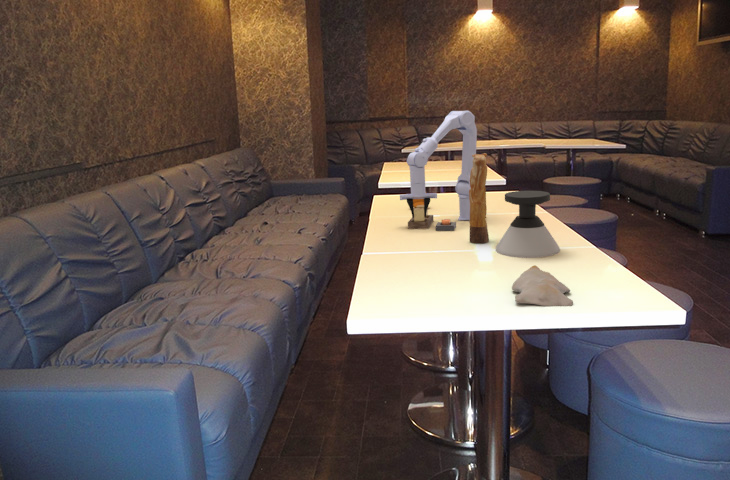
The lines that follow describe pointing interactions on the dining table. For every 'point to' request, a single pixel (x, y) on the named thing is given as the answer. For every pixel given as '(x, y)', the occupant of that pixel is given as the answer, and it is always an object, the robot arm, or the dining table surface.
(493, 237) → the dining table surface
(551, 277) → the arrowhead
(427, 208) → the block
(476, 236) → the sculpture
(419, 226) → the brown compartment tray
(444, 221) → the button
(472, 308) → the dining table surface
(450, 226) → the button housing
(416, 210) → the block
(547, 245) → the light fixture
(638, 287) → the dining table surface
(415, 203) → the toy
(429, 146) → the robot arm
